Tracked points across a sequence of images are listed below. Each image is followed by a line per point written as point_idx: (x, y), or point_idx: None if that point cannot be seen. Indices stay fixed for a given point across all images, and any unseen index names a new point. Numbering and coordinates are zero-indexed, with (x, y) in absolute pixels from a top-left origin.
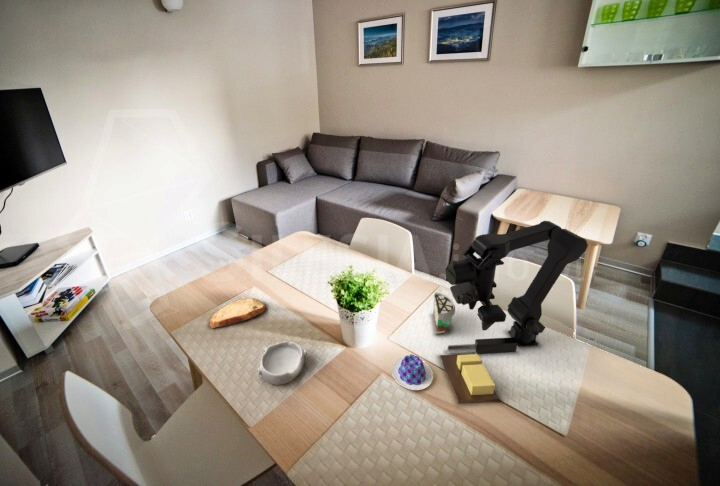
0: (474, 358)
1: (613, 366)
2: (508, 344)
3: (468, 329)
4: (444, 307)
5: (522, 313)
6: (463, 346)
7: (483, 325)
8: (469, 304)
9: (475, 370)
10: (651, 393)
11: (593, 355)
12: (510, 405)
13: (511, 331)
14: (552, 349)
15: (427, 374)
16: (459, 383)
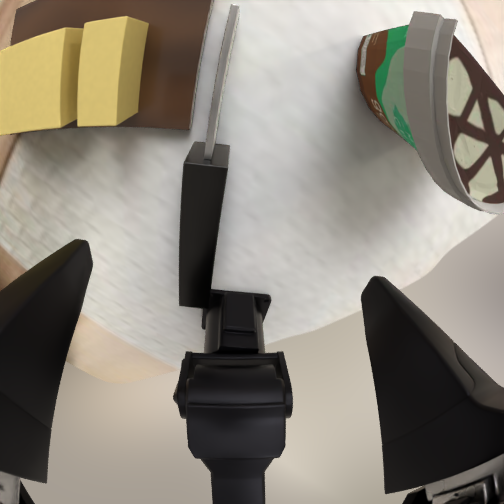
0: (90, 97)
1: (144, 371)
2: (179, 278)
3: (338, 187)
4: (482, 129)
5: (203, 426)
6: (215, 85)
7: (4, 291)
8: (404, 316)
9: (34, 80)
10: (100, 368)
11: (168, 369)
12: (11, 156)
13: (247, 311)
14: (187, 338)
15: None
16: (60, 15)
